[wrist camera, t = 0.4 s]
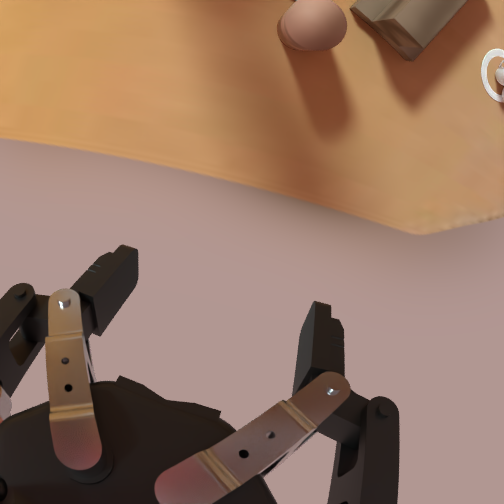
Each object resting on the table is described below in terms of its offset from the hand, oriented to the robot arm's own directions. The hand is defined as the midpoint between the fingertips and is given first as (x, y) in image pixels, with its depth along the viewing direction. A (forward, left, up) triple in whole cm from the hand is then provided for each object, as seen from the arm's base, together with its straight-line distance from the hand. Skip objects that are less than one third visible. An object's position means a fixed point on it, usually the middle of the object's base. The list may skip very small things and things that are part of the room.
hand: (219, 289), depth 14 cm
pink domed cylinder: (-2, +14, -27) cm, 30 cm away
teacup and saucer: (+22, +28, -28) cm, 45 cm away
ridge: (+5, +30, -27) cm, 40 cm away
